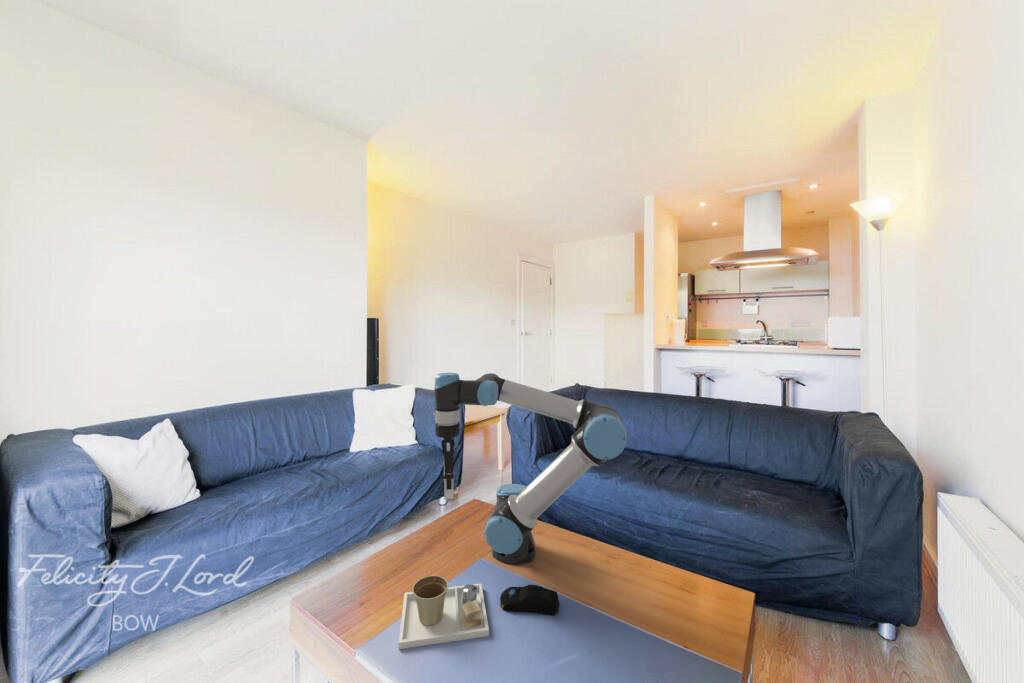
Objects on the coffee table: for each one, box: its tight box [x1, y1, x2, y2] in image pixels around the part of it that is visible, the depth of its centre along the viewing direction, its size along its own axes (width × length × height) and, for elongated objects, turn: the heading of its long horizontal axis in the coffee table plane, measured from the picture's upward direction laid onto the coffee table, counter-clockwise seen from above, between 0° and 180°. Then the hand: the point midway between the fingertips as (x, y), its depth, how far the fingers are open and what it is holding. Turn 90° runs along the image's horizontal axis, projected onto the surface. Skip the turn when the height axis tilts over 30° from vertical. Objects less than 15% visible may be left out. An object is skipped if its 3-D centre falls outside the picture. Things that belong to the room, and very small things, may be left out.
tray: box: [397, 582, 490, 650], centre depth 108 cm, size 22×18×2 cm
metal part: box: [462, 584, 477, 604], centre depth 113 cm, size 4×4×4 cm
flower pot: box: [411, 574, 449, 626], centre depth 107 cm, size 9×9×9 cm
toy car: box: [499, 584, 560, 616], centre depth 112 cm, size 8×17×5 cm, turn 83°
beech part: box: [461, 600, 481, 630], centre depth 106 cm, size 4×4×4 cm
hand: (448, 489), depth 126 cm, fingers open, 13 cm apart
